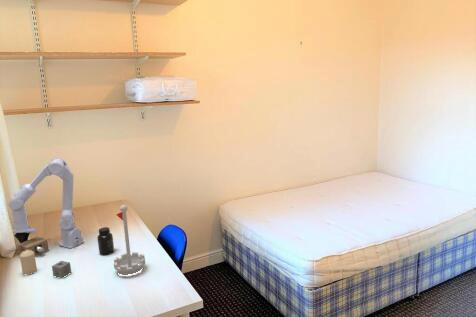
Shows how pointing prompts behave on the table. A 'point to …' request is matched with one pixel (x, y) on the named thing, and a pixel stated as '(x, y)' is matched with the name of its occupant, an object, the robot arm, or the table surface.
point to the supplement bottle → (105, 241)
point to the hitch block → (33, 245)
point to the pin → (39, 249)
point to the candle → (28, 262)
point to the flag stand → (128, 252)
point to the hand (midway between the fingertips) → (24, 246)
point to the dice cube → (61, 269)
